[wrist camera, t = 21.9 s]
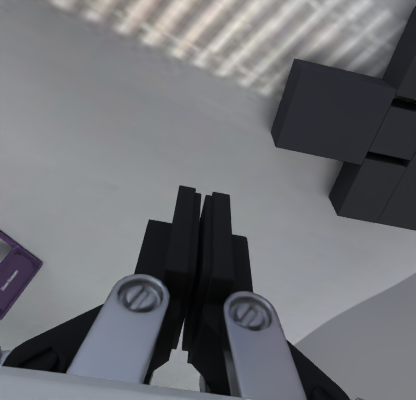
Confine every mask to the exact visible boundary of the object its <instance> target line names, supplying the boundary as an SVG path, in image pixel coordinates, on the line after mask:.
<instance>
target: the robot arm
mask: <svg viewBox="0 0 416 400" xmlns="http://www.w3.org/2000/svg"><path fill="white" fill-rule="evenodd" d="M195 191H196V188H191V187H186V186H181V185H180V186H179V191H178V196H177V201H176V206H175V211H174V217H173V222H172V223H167V222H161V221H155V220H150V219H149V221H148V225H147V228H146V232H145V236H144V240H143V243H142V247H141V251H140V254H139V258H138V262H137V265H136V269H135V273H134V274H133V275H129V276H126V277H124V278H122V279H121V280H119V281H118V282H117V283H116V284H115V286H114V287H113V289H112V290H111V292H110V294H109V296H108V298H107V299H106V301H105V303H104V304H102V305H100V306H98V307H96V308H94V309H92V310H90V311H88V312H85V313H83V314H81V315H79V316H77V317H75V318H73V319H71V320H69V321H67V322H65V323H63V324H61V325H59V326H56V327H54V328H52V329H50V330H48V331H46V332H44V333H42V334H40V335H38V336H36V337H34V338H32V339H30V340H27V341H25V342H24V343H22V344H21V345H19V346H17V347H16V348H15V349H14V350H6V351H1V346H0V400H350V399H349V397H348V396H347V394H346V393H345V392H344V391H343V390H342V389H341V388H340V387H339V386H338V385H337V384H336V383H335V382H333V381H332V380H331V379H330V378H329V377H328V376H327V375H326V374H325V373H323V372H322V371H321V370H320V369H319V368H318V367H317V366H315V365H314V364H313V363H312V362H311V361H310V360H309V359H308V358H307V357H305V356H304V355H303V354H302V353H301V352H300V351H299V350H298V349H297V348H295V347H294V346H293V345H292V344H291V343H290V342H289V341H288V340H286V338H285V335H284V332H283V329H282V326H281V323H280V320H279V318H278V315H277V312H276V310H275V309H274V307H273V306H272V304H271V303H270V302H269V301H268V300H266V299H265V298H263V297H262V296H260V295H258V294H255V293H253V287H252V278H251V269H250V260H249V251H248V242H247V238H246V237H244V236H239V235H233V234H232V228H231V210H230V195H228V194H223V193H218V192H213V193H212V196H210V195H206V197H205V200H204V205H203V209H202V213H201V217H200V206H201V194H200V193H195ZM199 220H200V221H199ZM184 318H185V319H184ZM183 322H184V330H183V340H182V350H183V351H188V361H187V363H190V364H192V365H193V366H194V367H195V368H196V370H197V371H198V372H199V373H200V374H201V375H200V381H199V385H200V392H196V391H188V390H181V389H174V388H167V387H159V386H152V385H150V383H151V380H152V377H153V372H154V370H156V369H157V368H159V367H160V366H162V365H163V364H164V363H166V362H167V361H169V357H170V353H171V349H177V345H178V341H179V337H180V333H181V329H182V326H183ZM356 400H363V399H360V398H357V399H356Z"/></svg>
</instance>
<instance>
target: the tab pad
mask: <svg viewBox="0 0 416 400" xmlns="http://www.w3.org/2000/svg"><path fill="white" fill-rule="evenodd" d="M396 92H397V89H396V88H394V87H393V86H391V85H390V84H388V83H387V82H385V81H384V80H382V79H380V78H375V77H371V76H367V75H362V74H358V73H354V72H350V71H345V70H341V69H337V68H332V67H328V66H324V65H320V64H315V63H311V62H307V61H302V60H298V59H294V62H293V65H292V68H291V71H290V74H289V77H288V81H287V84H286V87H285V90H284V93H283V96H282V99H281V102H280V105H279V108H278V112H277V115H276V118H275V121H274V124H273V127H272V130H271V134H272V137H273V140H274V143H275V146H276V147H278V148H283V149H287V150H292V151H297V152H302V153H307V154H311V155H316V156H321V157H326V158H331V159H335V160H340V161H345V162H350V163H355V164H359V165H361V164H362V163H363V160H364V158H365V156H366V154H367V152H368V151H369V152H374V153H379V154H384V155H388V156H393V157H398V158H402V159H407V160H411V158H412V157H413V155H414V153H415V151H416V104H415V103H410V102H406V101H402V100H397V99H394V96H395V94H396Z"/></svg>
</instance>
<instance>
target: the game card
mask: <svg viewBox="0 0 416 400" xmlns="http://www.w3.org/2000/svg"><path fill="white" fill-rule="evenodd" d="M0 238H1V239H2V240H4V241H5V242H6V243H8V244H9V245H10V246H12V247H13V249H12V250H11V251H10V252H9V254H8V255H7V256H6V257H5V258H4V260H3V261H2V262H1V263H0V320H2V319H3V317H4V316H5V315H6V313H7V312H8V311H9V309H10V308H11V307H12V305H13V304H14V303H15V301H16V300H17V299H18V297H19V296H20V295H21V293H22V292H23V291H24V289H25V288H26V287H27V285H28V284H29V283H30V281H31V280H32V278H33V277H34V276H35V274H36V273H37V272H38V270H39V269H40V268H41V266H42V262H41V261H39V260H38V259H37V258H35V257H34V256H33V255H31V254H30V253H29V252H27V251H26V250H25V249H23V248H22V247H21V246H19V245H18V244H17V243H15V242H14V241H13V240H11V239H10V238H9V237H7V236H6V235H5V234H3V233H2V232H1V231H0Z"/></svg>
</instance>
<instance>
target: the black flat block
mask: <svg viewBox="0 0 416 400" xmlns="http://www.w3.org/2000/svg"><path fill="white" fill-rule="evenodd" d="M382 80H384V81H385V82H387V83H388V84H390V85H391V86H393V87H394V88H396V89H397V92H396V94H395V95H397V96H401V97H405V98H410V99H414V100H416V6H415V8H414V10H413V12H412V14H411V17H410V19H409V21H408V23H407V25H406V28H405V30H404V32H403V34H402V36H401V39H400V41H399V43H398V45H397V48H396V50H395V52H394V54H393V56H392V59H391V61H390V63H389V65H388V67H387V70H386V72H385V74H384V76H383V79H382ZM329 199H330V201H331V203H332V205H333V207H334V209H335V211H336V213H337V215H338V216H342V217H347V218H352V219H357V220H363V221H368V222H373V223H379V224H385V225H390V226H395V227H400V228H406V229H411V230H416V151H415V153H414V155H413V157H412V158H411V160H407V159H402V158H398V157H393V156H388V155H384V154H379V153H374V152H369V151H368V152H367V154H366V156H365V158H364V160H363V163H362V164H361V165H359V164H355V163H350V162H344V165H343V167H342V169H341V171H340V174H339V176H338V178H337V180H336V182H335V185H334V187H333V189H332V191H331V193H330V196H329Z"/></svg>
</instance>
